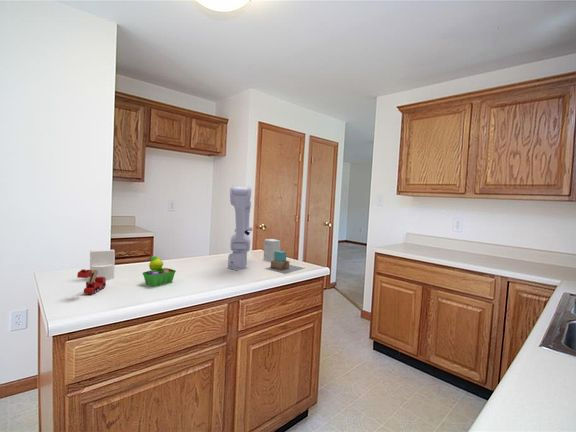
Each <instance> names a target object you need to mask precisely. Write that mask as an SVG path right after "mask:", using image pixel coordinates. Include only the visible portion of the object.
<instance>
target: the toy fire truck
mask: <svg viewBox="0 0 576 432" xmlns="http://www.w3.org/2000/svg"><path fill="white" fill-rule="evenodd" d="M97 274H98V271H97V270H90V269H83V268H82V269H81V270H79V271H78V272H77V275H76V277H77V278H81V279H87V278H89V279H88V281H86V283H85V288H84V289H83V295H93V294H94V295H95V294H96V293H99V292H100V291H101V290H103V289H105V287H106V285H107V284H106V283H107V280H106V279H105V277H96V276H97Z"/></svg>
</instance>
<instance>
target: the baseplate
mask: <svg viewBox="0 0 576 432" xmlns="http://www.w3.org/2000/svg"><path fill="white" fill-rule="evenodd" d="M304 269H306V268H305V267H301V266H297V265H293V264H289V269H285V270H282V271H280V270H276V269H272V268H271V266H270V267H266V268H264V270H267V271H271V272H272V271H273V272H276V273H280V274H284V275H287V274H290V273H293V272H297V271H300V270H304Z"/></svg>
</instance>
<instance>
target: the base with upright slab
mask: <svg viewBox="0 0 576 432" xmlns="http://www.w3.org/2000/svg"><path fill="white" fill-rule="evenodd" d="M89 253H90V254H89V270H97V271H98V274H97V276H96V277H105V279H106V281H110V280H113V279H115V267H116V265H115V264H116V263H115V260H116V258H115V256H116V254H115V253H116V251H115V249H93V250H90V251H89Z"/></svg>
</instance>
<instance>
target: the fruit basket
mask: <svg viewBox="0 0 576 432" xmlns="http://www.w3.org/2000/svg"><path fill="white" fill-rule="evenodd" d="M163 266H164V261H162V259H161V258H159V256H157V255H153V256H151V257H150V261H149V267H148V268H149V270H147V271H143V272H142V276H143V278H144V282H145V285H146V286H149V287H153V288H155V287H157V286H162V285H166V284H170V283H172V282H173V279H174V276H175V274H176V273H177V270H175V269H172V268H169V267H163Z"/></svg>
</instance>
